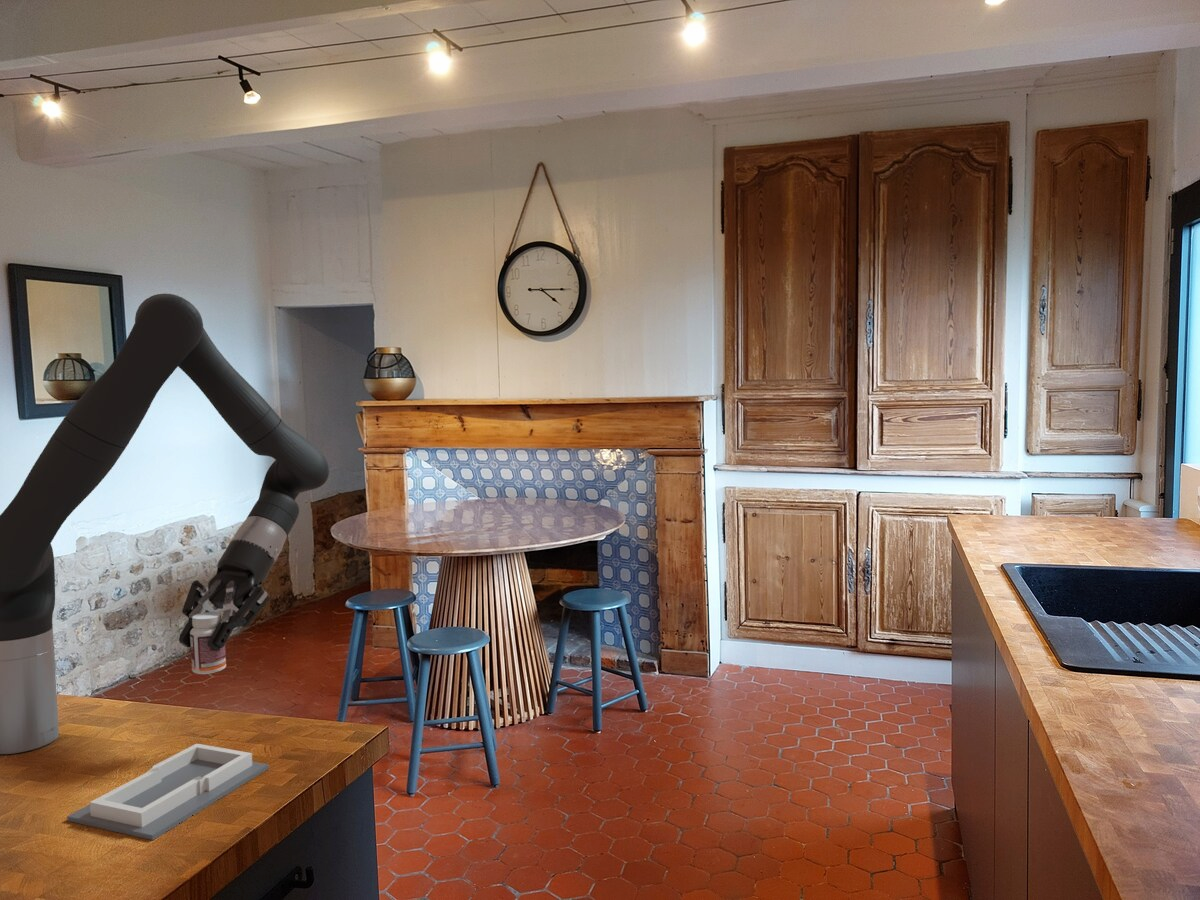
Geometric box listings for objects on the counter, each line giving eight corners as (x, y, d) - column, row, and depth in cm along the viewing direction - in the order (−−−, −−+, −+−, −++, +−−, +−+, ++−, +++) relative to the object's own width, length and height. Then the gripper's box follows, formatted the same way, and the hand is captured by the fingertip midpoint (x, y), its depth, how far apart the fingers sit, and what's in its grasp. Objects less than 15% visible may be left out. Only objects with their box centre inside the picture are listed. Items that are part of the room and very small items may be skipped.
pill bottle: (233, 665, 130) (231, 612, 130) (211, 676, 126) (208, 620, 125) (207, 662, 132) (204, 609, 131) (184, 673, 127) (182, 618, 126)
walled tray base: (67, 820, 107) (66, 802, 107) (192, 754, 126) (191, 738, 126) (152, 840, 102) (151, 821, 102) (268, 768, 121) (268, 752, 121)
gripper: (204, 535, 137) (145, 629, 126) (277, 540, 132) (222, 639, 121) (230, 561, 142) (175, 653, 132) (301, 567, 137) (250, 663, 127)
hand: (198, 646), depth 127 cm, fingers closed on pill bottle, 4 cm apart
